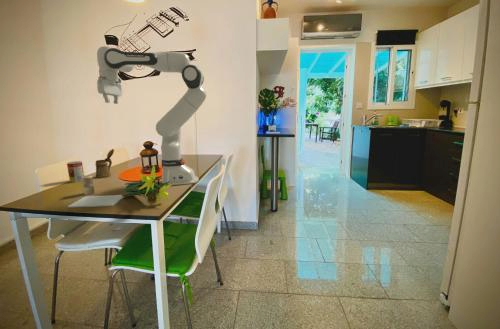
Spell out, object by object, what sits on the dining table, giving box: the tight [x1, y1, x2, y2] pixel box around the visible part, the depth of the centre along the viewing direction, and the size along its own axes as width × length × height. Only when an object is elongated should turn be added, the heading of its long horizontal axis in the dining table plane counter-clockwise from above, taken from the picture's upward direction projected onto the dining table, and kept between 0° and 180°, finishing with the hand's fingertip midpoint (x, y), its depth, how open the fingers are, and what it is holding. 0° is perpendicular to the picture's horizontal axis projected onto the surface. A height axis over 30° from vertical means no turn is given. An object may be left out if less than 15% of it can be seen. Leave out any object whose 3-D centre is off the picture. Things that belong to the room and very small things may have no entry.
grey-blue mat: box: [67, 194, 125, 208], centre depth 119 cm, size 20×14×1 cm
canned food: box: [66, 160, 85, 183], centre depth 157 cm, size 8×8×12 cm
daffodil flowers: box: [121, 164, 173, 204], centre depth 116 cm, size 17×15×35 cm
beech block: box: [81, 175, 96, 196], centre depth 131 cm, size 4×4×9 cm
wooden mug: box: [95, 148, 115, 179], centre depth 168 cm, size 9×14×18 cm, turn 143°
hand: (111, 103), depth 141 cm, fingers open, 8 cm apart
